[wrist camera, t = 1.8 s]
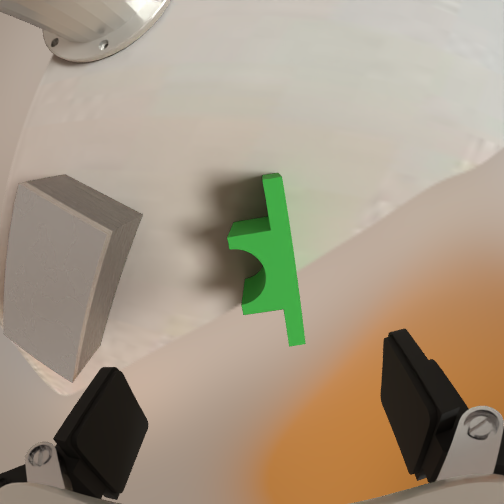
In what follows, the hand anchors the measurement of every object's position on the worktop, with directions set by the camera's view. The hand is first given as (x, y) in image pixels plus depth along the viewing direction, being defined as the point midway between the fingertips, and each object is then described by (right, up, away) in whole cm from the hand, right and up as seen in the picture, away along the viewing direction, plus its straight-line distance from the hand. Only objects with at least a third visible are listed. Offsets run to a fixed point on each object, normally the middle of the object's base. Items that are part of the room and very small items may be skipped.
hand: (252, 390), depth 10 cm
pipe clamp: (+1, +5, +13) cm, 14 cm away
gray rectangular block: (-15, +3, +14) cm, 21 cm away
